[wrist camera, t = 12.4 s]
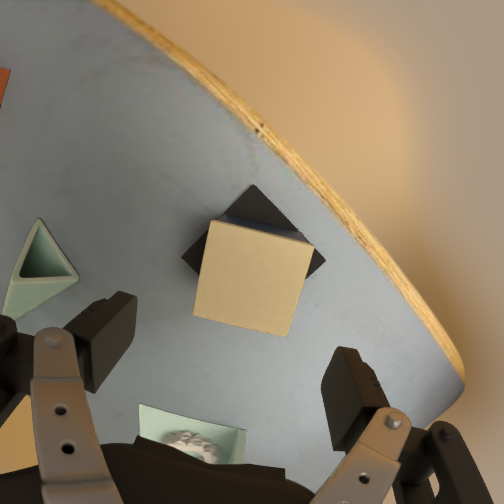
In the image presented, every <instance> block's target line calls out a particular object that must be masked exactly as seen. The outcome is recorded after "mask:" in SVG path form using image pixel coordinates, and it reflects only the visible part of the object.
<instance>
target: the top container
mask: <svg viewBox="0 0 504 504" xmlns="http://www.w3.org/2000/svg"><path fill="white" fill-rule="evenodd" d="M313 251H314V245H313V244H311V243H308V242H307V240H306V239H305V237H304V235H303V234H302V233H301V232H298V231H294V230H290V229H286V228H282V227H278V226H274V225H270V224H266V223H262V222H258V221H254V220H250V219H245V218H241V217H237V216H233V215H229V214H224V215H223V216H221V217H220V218H219V219H218V220H211V222H210V226H209V231H208V236H207V241H206V245H205V250H204V255H203V260H202V265H201V270H200V276H199V281H198V286H197V291H196V297H195V302H194V308H193V313H192V314H193V315H195V316H199V317H203V318H206V319H210V320H214V321H218V322H222V323H226V324H230V325H234V326H238V327H243V328H247V329H251V330H255V331H260V332H264V333H269V334H273V335H278V336H283V337H286V336H287V333H288V330H289V327H290V324H291V321H292V318H293V315H294V312H295V309H296V306H297V303H298V300H299V297H300V294H301V290H302V287H303V284H304V281H305V277H306V274H307V271H308V268H309V264H310V261H311V258H312V254H313Z"/></svg>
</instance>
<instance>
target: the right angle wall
mask: <svg viewBox="0 0 504 504" xmlns="http://www.w3.org/2000/svg"><path fill="white" fill-rule="evenodd" d="M139 418H140V436H141V437H144V438H147V439H150V440H153V441H156V442H159V443H163V444H166V445H169V446H173V447H175V448H177V449H179V450H181V451H183V452H185V453H187V454H189V455H191V456H193V457H195V458H197V459H199V460H202V461H204V462H206V463H209V464H243V462H244V451H245V441H246V430H242V429H237V428H231V427H226V426H221V425H217V424H212V423H208V422H203V421H199V420H195V419H191V418H187V417H183V416H179V415H176V414H172V413H168V412H165V411H162V410H158V409H155V408H152V407H149V406H145V405H142V404H139Z"/></svg>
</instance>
